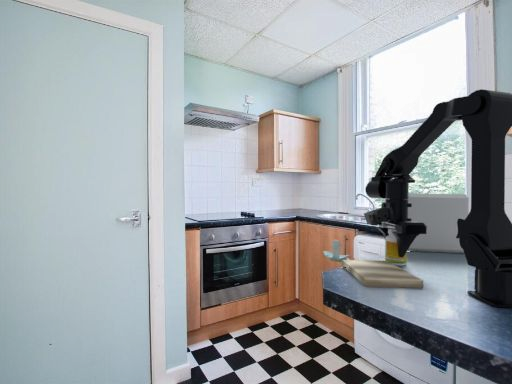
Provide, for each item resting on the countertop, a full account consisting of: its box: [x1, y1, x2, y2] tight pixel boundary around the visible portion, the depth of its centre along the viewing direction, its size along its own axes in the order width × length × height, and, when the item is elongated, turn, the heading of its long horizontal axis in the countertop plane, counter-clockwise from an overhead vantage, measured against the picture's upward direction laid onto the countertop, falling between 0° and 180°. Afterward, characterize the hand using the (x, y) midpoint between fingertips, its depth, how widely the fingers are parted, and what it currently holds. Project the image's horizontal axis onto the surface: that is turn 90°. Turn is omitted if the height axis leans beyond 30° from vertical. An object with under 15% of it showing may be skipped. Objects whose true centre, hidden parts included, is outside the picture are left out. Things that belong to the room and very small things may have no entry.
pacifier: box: [323, 239, 351, 263], centre depth 77 cm, size 7×6×6 cm
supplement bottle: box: [384, 228, 408, 267], centre depth 74 cm, size 5×5×10 cm
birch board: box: [341, 259, 424, 289], centre depth 63 cm, size 16×12×2 cm
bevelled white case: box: [405, 192, 470, 254], centre depth 93 cm, size 21×8×20 cm, turn 82°
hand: (395, 254), depth 74 cm, fingers closed on supplement bottle, 5 cm apart
